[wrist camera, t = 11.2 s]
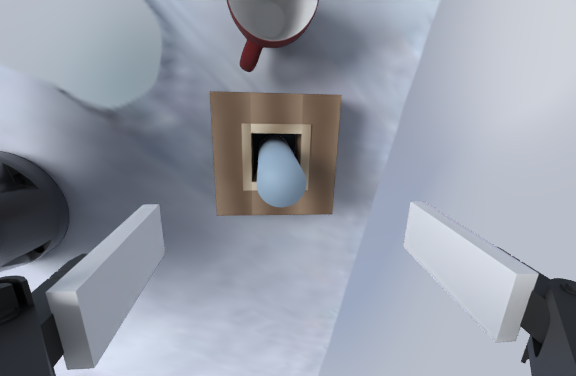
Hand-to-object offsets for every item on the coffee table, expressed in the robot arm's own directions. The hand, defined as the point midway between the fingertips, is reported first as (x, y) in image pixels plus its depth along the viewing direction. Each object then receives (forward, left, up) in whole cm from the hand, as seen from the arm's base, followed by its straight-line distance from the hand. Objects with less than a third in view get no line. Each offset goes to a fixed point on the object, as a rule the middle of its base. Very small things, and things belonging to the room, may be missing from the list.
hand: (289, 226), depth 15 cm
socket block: (0, 0, -24) cm, 24 cm away
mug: (-1, +14, -24) cm, 28 cm away
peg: (0, 0, -24) cm, 24 cm away
